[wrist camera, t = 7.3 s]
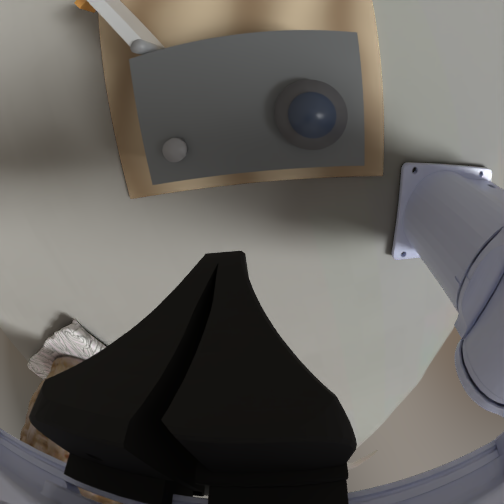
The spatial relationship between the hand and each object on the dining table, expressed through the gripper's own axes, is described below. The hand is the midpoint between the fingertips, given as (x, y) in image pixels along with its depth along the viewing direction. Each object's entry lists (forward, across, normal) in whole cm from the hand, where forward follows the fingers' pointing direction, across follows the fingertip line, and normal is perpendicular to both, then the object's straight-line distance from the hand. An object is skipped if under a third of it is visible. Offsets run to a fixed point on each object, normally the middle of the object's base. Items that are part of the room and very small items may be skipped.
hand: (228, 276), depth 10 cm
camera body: (+10, -1, -6) cm, 12 cm away
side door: (+10, +6, -12) cm, 17 cm away
